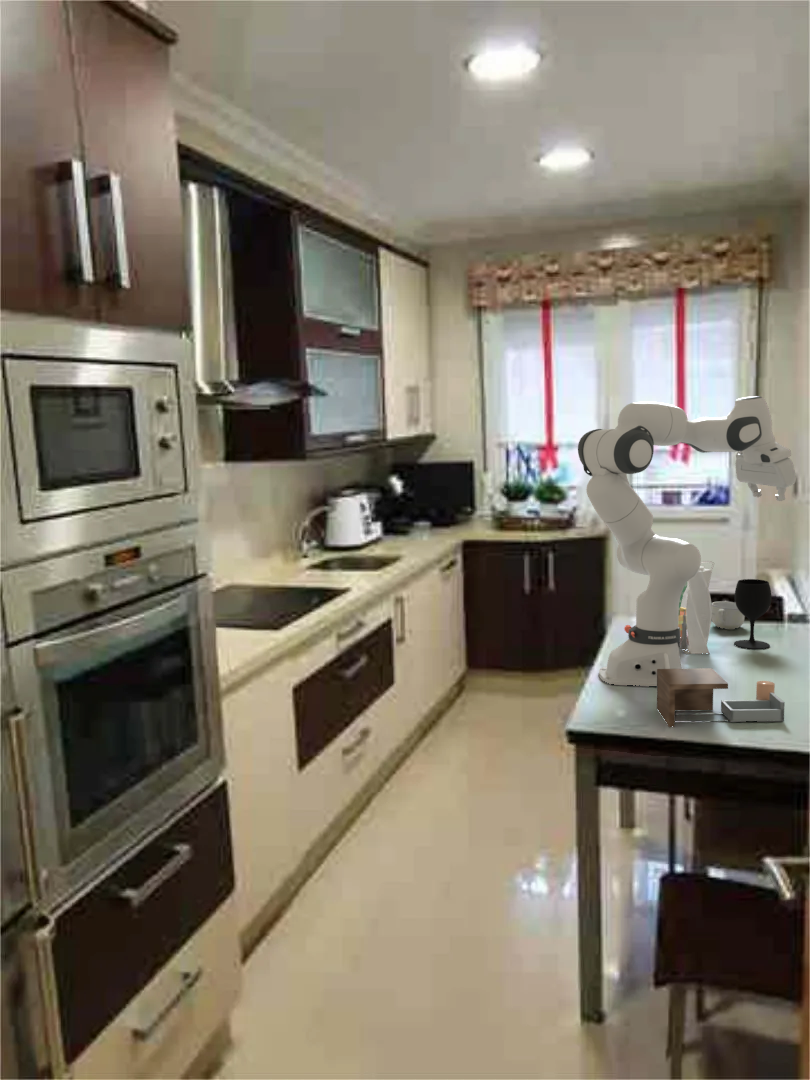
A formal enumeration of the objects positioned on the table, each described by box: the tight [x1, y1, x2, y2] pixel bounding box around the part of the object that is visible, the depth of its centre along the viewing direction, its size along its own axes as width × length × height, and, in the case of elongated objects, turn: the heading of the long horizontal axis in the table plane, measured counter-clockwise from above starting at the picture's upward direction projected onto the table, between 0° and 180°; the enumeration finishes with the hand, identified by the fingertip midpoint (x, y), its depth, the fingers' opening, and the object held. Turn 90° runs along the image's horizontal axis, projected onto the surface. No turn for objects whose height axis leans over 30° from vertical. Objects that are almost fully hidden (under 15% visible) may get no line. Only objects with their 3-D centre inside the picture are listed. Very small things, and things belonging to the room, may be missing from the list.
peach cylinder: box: [755, 680, 776, 700], centre depth 199 cm, size 4×4×6 cm
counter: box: [656, 667, 766, 728], centre depth 193 cm, size 26×12×10 cm, turn 86°
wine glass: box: [733, 578, 772, 650], centre depth 252 cm, size 10×10×20 cm
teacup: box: [711, 600, 746, 630], centre depth 275 cm, size 14×11×8 cm
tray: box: [720, 692, 785, 723], centre depth 193 cm, size 12×7×4 cm, turn 86°
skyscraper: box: [680, 560, 715, 655], centre depth 247 cm, size 8×8×28 cm
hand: (769, 498), depth 233 cm, fingers open, 8 cm apart
